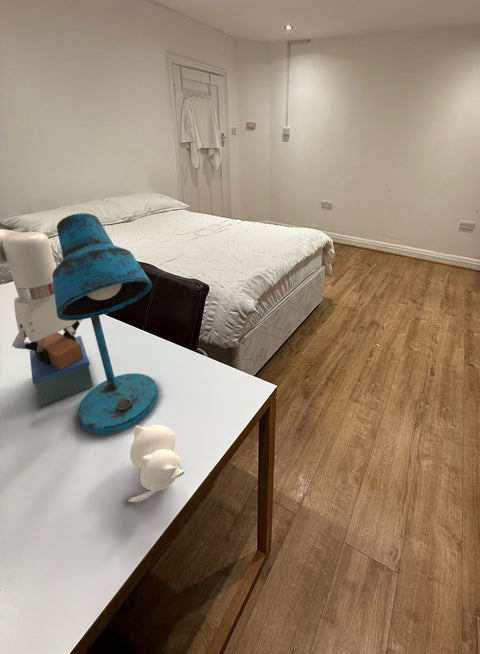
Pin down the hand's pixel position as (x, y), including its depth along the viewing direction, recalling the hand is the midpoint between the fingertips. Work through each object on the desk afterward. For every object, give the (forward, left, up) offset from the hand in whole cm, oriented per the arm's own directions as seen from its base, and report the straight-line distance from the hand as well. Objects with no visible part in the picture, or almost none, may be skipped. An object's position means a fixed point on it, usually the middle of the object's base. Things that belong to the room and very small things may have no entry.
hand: (58, 354), depth 77 cm
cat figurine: (+37, -10, -8) cm, 39 cm away
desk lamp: (+20, -1, -8) cm, 22 cm away
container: (0, 0, -8) cm, 8 cm away
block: (0, 0, 0) cm, 0 cm away
